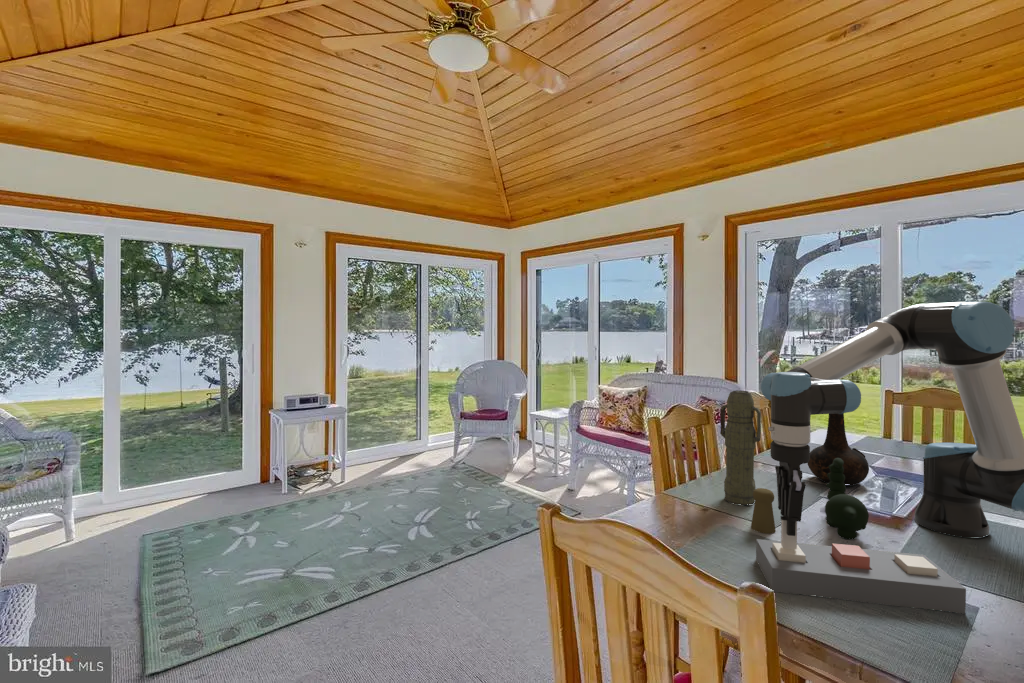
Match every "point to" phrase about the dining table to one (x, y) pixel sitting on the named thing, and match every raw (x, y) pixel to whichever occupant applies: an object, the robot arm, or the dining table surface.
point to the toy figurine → (843, 505)
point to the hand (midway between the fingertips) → (788, 547)
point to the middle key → (850, 556)
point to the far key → (788, 553)
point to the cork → (763, 511)
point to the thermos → (740, 446)
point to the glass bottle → (838, 454)
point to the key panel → (860, 579)
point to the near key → (915, 565)
